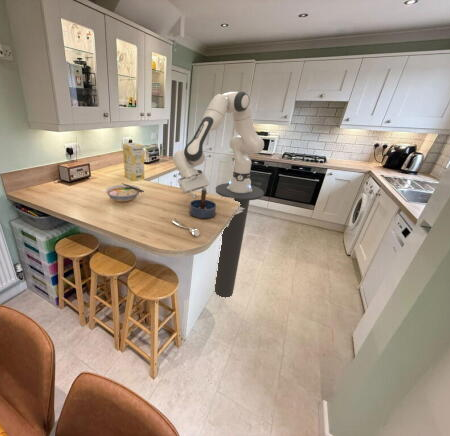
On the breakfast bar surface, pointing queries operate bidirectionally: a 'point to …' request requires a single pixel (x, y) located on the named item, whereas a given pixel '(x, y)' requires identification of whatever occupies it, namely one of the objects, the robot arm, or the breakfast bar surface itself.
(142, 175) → the pasta box
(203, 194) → the muddler
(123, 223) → the breakfast bar surface
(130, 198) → the ramen bowl
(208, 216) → the mixing bowl
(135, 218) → the breakfast bar surface
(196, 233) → the silver metal spoon
